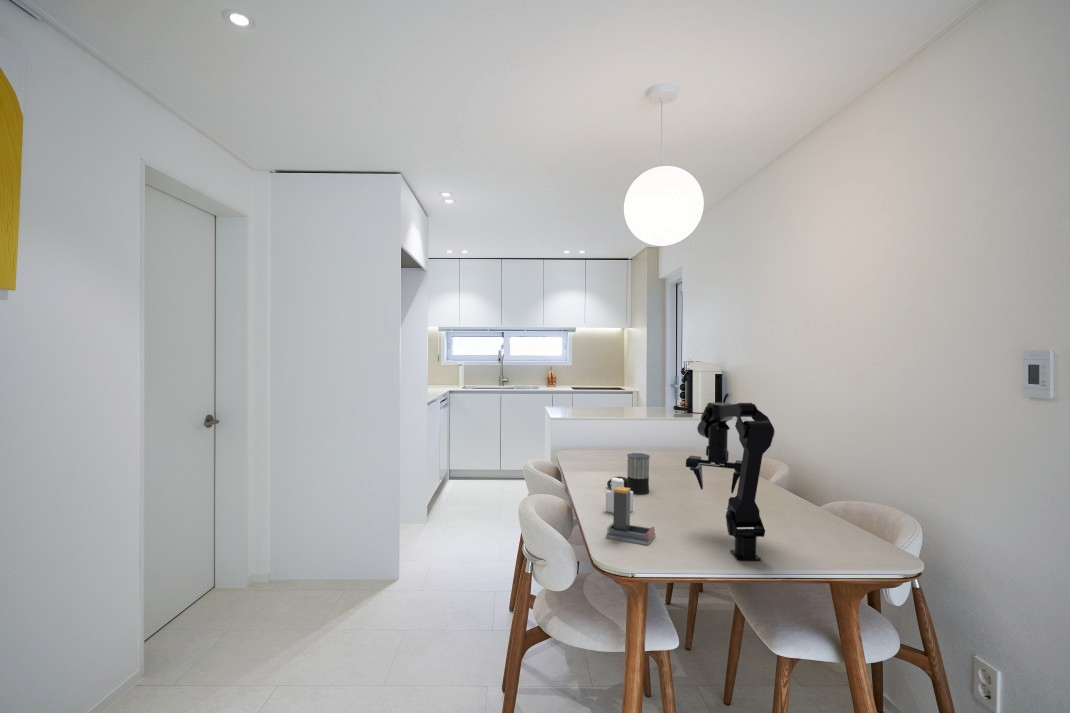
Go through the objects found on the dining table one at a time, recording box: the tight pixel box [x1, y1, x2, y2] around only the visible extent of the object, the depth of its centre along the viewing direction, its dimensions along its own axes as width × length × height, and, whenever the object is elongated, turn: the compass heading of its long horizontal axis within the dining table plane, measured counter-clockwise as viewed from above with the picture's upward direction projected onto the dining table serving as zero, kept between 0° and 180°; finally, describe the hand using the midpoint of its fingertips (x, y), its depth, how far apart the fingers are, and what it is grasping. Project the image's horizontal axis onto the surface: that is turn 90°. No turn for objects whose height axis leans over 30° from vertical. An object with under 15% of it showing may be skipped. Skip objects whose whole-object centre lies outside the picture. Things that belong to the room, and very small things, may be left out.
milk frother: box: [606, 452, 651, 495], centre depth 223 cm, size 14×16×15 cm
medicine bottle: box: [605, 476, 634, 514], centre depth 194 cm, size 7×7×12 cm
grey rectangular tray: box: [605, 522, 656, 546], centre depth 168 cm, size 13×9×3 cm
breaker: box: [612, 487, 631, 531], centre depth 169 cm, size 4×4×13 cm
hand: (716, 491), depth 173 cm, fingers open, 9 cm apart
